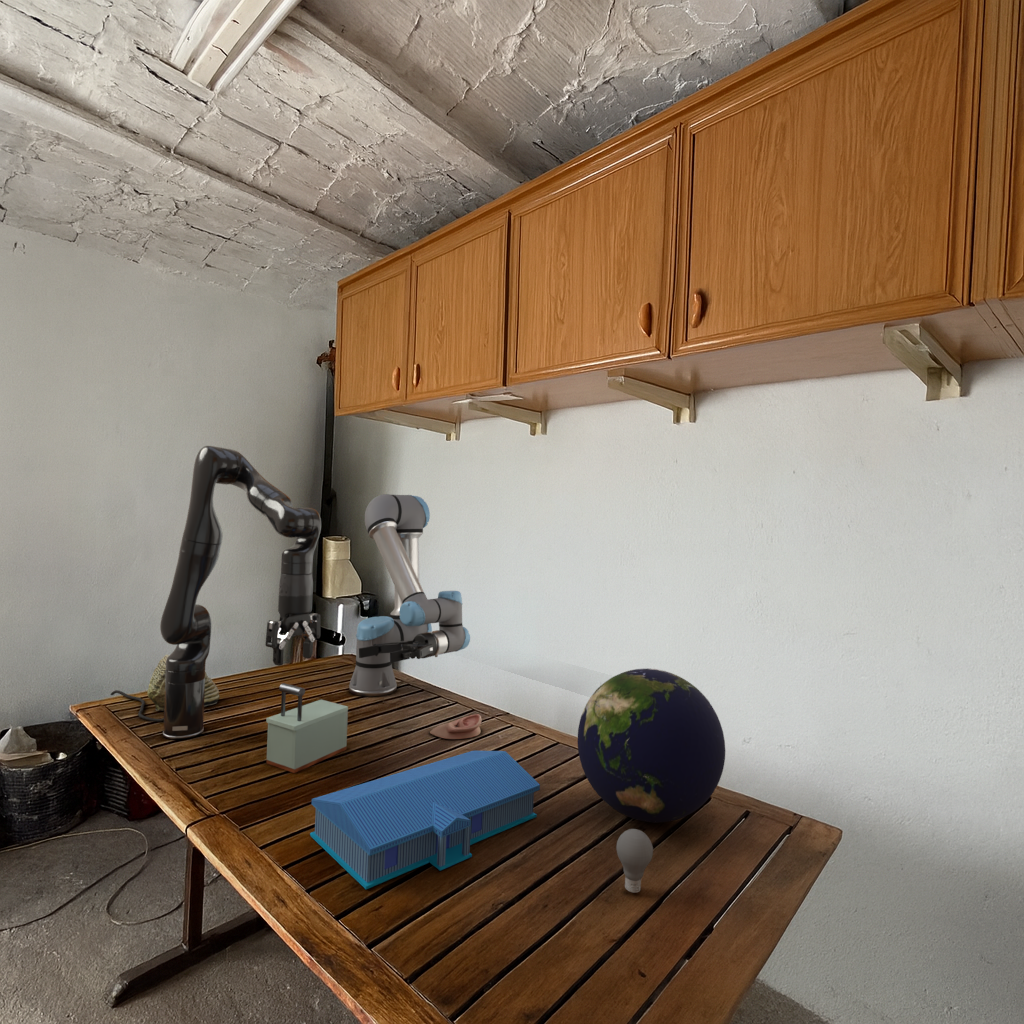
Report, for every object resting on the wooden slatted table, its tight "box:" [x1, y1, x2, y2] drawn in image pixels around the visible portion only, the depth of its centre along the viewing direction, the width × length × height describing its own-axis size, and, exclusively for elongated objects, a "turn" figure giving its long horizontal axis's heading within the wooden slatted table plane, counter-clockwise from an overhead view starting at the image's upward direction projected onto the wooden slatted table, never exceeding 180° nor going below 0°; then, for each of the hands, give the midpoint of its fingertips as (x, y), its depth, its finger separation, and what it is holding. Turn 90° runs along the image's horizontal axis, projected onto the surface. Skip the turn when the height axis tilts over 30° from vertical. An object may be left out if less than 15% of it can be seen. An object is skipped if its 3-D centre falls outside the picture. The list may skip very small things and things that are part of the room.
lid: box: [265, 682, 349, 731], centre depth 154 cm, size 17×9×9 cm, turn 151°
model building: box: [309, 750, 541, 890], centre depth 123 cm, size 39×24×10 cm, turn 132°
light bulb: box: [615, 828, 654, 894], centre depth 106 cm, size 6×6×10 cm
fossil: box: [147, 654, 221, 712], centre depth 185 cm, size 9×18×15 cm, turn 132°
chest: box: [265, 710, 349, 774], centre depth 154 cm, size 17×9×10 cm, turn 151°
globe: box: [577, 667, 726, 824], centre depth 132 cm, size 30×30×30 cm
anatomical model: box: [429, 713, 482, 740], centre depth 174 cm, size 13×4×12 cm
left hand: (293, 661), depth 149 cm, fingers open, 8 cm apart
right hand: (374, 655), depth 179 cm, fingers open, 13 cm apart
